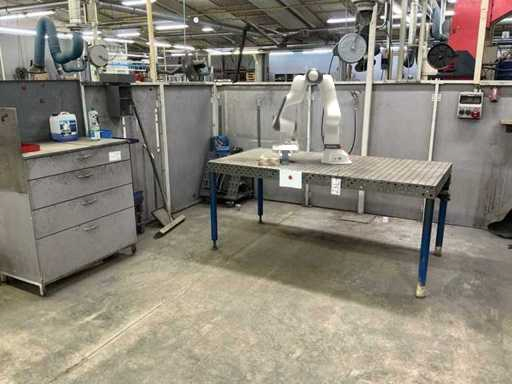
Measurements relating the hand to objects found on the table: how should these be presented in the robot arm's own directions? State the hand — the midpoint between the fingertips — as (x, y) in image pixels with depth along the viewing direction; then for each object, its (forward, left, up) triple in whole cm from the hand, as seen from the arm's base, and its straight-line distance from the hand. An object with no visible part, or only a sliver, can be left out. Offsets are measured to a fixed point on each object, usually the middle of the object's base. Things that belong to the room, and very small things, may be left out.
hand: (285, 156), depth 292 cm
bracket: (0, +2, -5) cm, 5 cm away
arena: (+11, +4, -5) cm, 13 cm away
